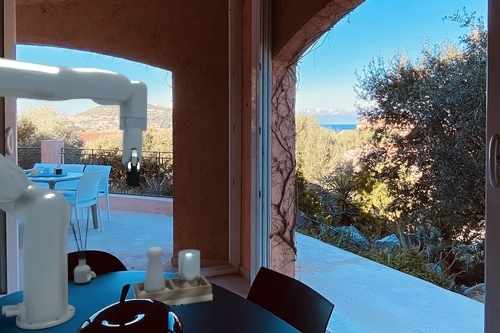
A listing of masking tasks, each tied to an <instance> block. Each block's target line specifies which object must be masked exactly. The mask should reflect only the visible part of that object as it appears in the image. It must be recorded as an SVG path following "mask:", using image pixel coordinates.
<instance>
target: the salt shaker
mask: <svg viewBox="0 0 500 333" xmlns="http://www.w3.org/2000/svg"><path fill="white" fill-rule="evenodd" d="M163 253H164V252H163V248H162V247H160V246H152V247H148V248H147V249H146V257H147V258H148V260H147V267H146V273H145V278H144V282H145V283H144V290H145V292H146V293H153V292H160V291H164V290H165V287H166V285H165V279H166V278H165V275H164V274H165V273H164V268H163V262H162V257H163V255H164V254H163Z"/></svg>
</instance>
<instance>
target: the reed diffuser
mask: <svg viewBox="0 0 500 333" xmlns="http://www.w3.org/2000/svg"><path fill="white" fill-rule="evenodd" d="M86 219H87V221H86V232H85V241H84V242H85V243H84V250H83V243H82V237H81V230H80V229H81V228H80V222H79V221H80V220H79V219H77V225H78V227H77V228H78V233H79V240H80V246H81V249H80V247H79V244H78V240H77V234H76V230H75V226H74V223H72V220H69V225H70V226H71V229H72V232H73V235H74V240H75V243H76V248H77V251H78V256H79V259H78V265H77V266H76V267H75V268H74V270H73V276H74V277H73V278H74V283H76V284H84V283H88V282H90V281H91V279H94V278H96V277H97V274H96V273H95V272H94V271H92V270H91V266H89V265H88V264H86V263H87V262H86V247H87V238H88V226H89V225H88V224H89V218H86Z"/></svg>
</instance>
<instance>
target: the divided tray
mask: <svg viewBox="0 0 500 333" xmlns="http://www.w3.org/2000/svg"><path fill="white" fill-rule="evenodd" d="M164 279H165V285H166V287H165V290H164V291H160V292H153V293H146V292H145V290H144V283H145V281H140V282H139V281H138V282H133V292H132V293H133V299H134V298H135V299H152V300H157V301H161V302H163V303H165V304H167V305H170V307H173V306H172V305H176V306H181V304H183V305H188V304H194V303H200V302H201V303H202V302H208V301H213V297H214V296H213V293H212V292H213V290H212V289H213V288H212V287H213V285H212V284H211V283H210V282H209V281H208V279H207V278H206V277H205V276H204V275H203V274H201V273H200V286H197V287H189V288H182V289H178V277H170V278H164Z"/></svg>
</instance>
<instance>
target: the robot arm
mask: <svg viewBox="0 0 500 333" xmlns="http://www.w3.org/2000/svg"><path fill="white" fill-rule="evenodd" d="M0 97H2V98H3V97H4V98H15V99H26V100H37V101H45V102H63V101H70V100H82V99H83V100H84V99H85V100H86V99H87V100H91V101H92V102H93V103H95V104H97V105H101V106H119V122H118V123H119V127H118V128H119V131H122V152H121V153H122V158H121V159H122V164H123V165H124V166H125V165H126V172H125V173H126V174H125V182H126V184H127V187H128V188H129V187H131V188H132V187H140V182H141V181H140V179H141V178H140V177H141V173H140V165H141V164H142V160H143V159H142V156H143V138H144V137H143V135H144V134H143V133H144V132H148V86H147V84H146V83H145V82H143V81H139V80H131V79H129V77H127V76H126V75H124V74H123V73H121V72H116V71H113V70H107V69H101V68H92V67H91V68H90V67H77V66H76V67H75V66H67V65H66V66H65V65H64V66H63V65H52V64H43V63H37V62H36V63H35V62H32V61H30V62H29V61H24V60H18V59H12V58H6V57H0ZM70 207H71V206H70V203H69V202H68V200H67V198H66V197H65V196H64V195H63V193H60V192H59V191H58V190H54V189H51V188H46V187H41V186H40V185H39V184H37V183H35V182H34V181H32V180H31V179H30V178H29V177H28V173H27V172H26V171H25V170H24V168H22V167H21V166H20V165H19V164H17V163H15V162H14V161H11V160H10V159H8V158H7V157H5V156H4V155H3V154H1V153H0V210H2V211H4V212H5V213H7V214H9V215H10V216H12V217H14V218H16V219H17V220H18V221H20V222H22V223H24V227H23V228H24V230H23V235H22V236H23V237H22V282H23V283H22V285H23V287H22V291H23V292H22V293H23V294H22V295H23V300H22V302H18V303H17V304H14V305H13V304H10V305H3V306H2V308H1V314H2V315H5V317H6V318H7V317H8V318H9V317H15V316H16V320H15V325H16V326H17V327H19V328H21V329H24V330H25V329H26V330H41V329H48V328H51V327H55V326H59V325H61V324H64V323H66V322H67V321H69V320H71V319H72V318H73V317H74V316H75V313H76V310H75V309H76V308H75V307H74V306H73V305H71V304H69V300H68V299H69V294H68V293H69V289H68V288H69V286H68V285H69V284H68V282H69V280H68V279H69V278H68V274H69V272H68V270H69V269H68V234H69V233H68V232H69V231H68V230H69V225H70V217H71V208H70Z"/></svg>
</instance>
